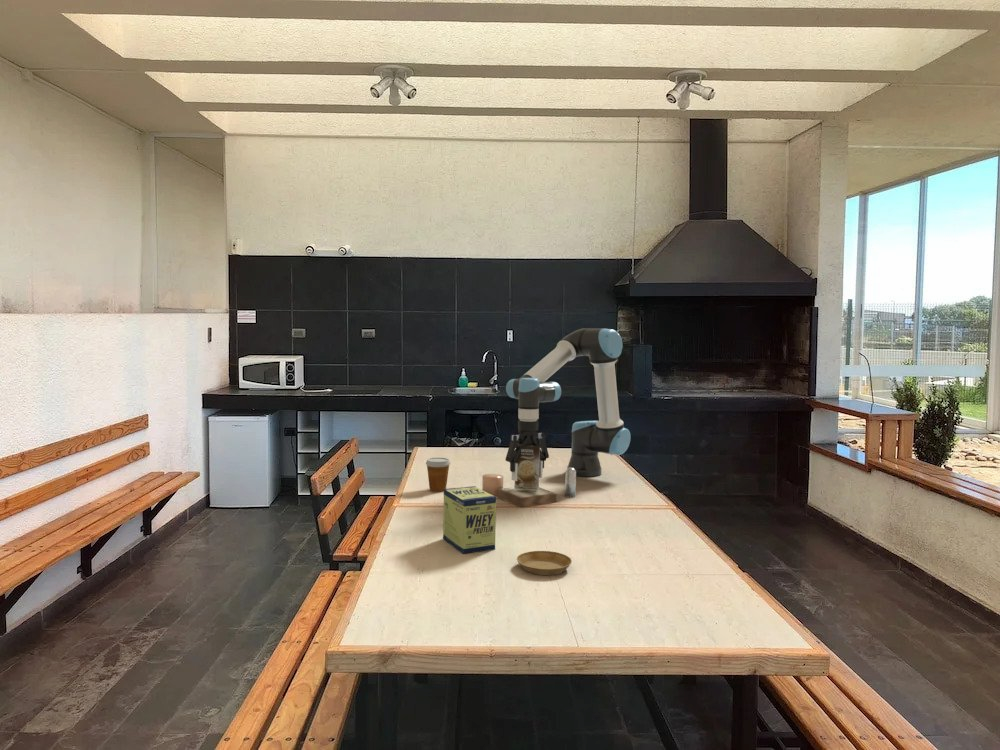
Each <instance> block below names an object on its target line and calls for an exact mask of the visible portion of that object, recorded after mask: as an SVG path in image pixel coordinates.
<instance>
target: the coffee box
mask: <svg viewBox="0 0 1000 750" xmlns="http://www.w3.org/2000/svg"><path fill="white" fill-rule="evenodd" d="M519 448H520V446H517V444H516V447H515V449H516V451H517V450H518V449H519ZM540 449H541V447H540V444H538V445H525V447H521V453H520V455H519V457H518V459H517V461H516V463H518V467H517V481H514V486H513V487H514V489H527V490H538V488H539V487H540V478H539V466H540Z"/></svg>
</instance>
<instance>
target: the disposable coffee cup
mask: <svg viewBox="0 0 1000 750" xmlns="http://www.w3.org/2000/svg"><path fill="white" fill-rule="evenodd" d="M425 464H426V465H425V466H426V467H427V468H426V469H427V470H426V471H427V475H428V477H427V478H428V487H429V491H430V492H433V493H442V492H444V489H447V483H448V475H449V470H450V466H451V465H450V464H451V461H450V459H449V458H448V457H447V458H446V457H430V458H427V459H426V462H425Z"/></svg>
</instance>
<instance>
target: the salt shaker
mask: <svg viewBox="0 0 1000 750" xmlns="http://www.w3.org/2000/svg"><path fill="white" fill-rule="evenodd" d="M564 476H565V478H564V479H565V482H564V486H565V487H564V496H565V497H566V498H575V497H576V489H577V487H576V485H577V476H576V470H575V469H574V468H572V467H569V468H567V467H566V469H565V474H564Z"/></svg>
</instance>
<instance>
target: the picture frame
mask: <svg viewBox="0 0 1000 750" xmlns="http://www.w3.org/2000/svg"><path fill="white" fill-rule="evenodd" d="M557 495H558V494H557V493H555V492H553V491H550V490H549V489H545V488H542V487H540V486H539V488H538V490H527V489H514V486H512V487H503V489H497V496H496V498H498V499H501V500H503V501H505V502H508V503H510V504H512V505H515V506H516V507H518V508H523V507H531V506H537V505H544V504H552V503H557V501H558V500H557V498H558V497H557Z"/></svg>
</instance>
